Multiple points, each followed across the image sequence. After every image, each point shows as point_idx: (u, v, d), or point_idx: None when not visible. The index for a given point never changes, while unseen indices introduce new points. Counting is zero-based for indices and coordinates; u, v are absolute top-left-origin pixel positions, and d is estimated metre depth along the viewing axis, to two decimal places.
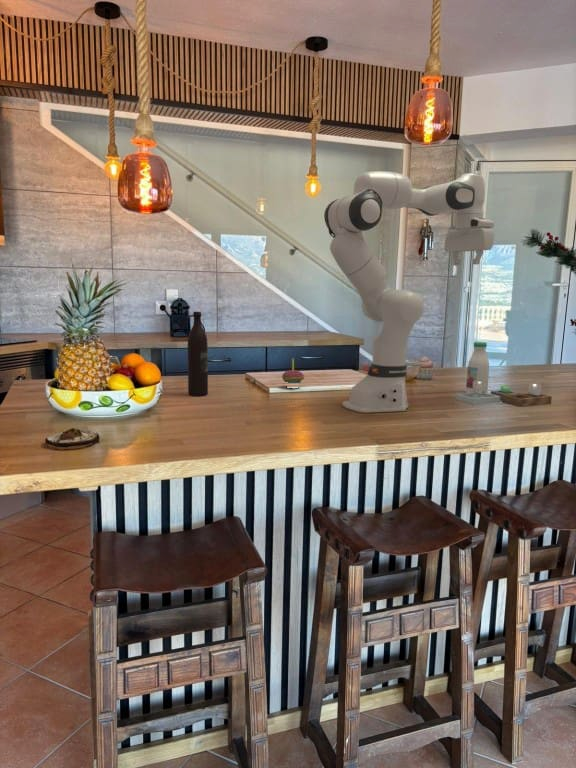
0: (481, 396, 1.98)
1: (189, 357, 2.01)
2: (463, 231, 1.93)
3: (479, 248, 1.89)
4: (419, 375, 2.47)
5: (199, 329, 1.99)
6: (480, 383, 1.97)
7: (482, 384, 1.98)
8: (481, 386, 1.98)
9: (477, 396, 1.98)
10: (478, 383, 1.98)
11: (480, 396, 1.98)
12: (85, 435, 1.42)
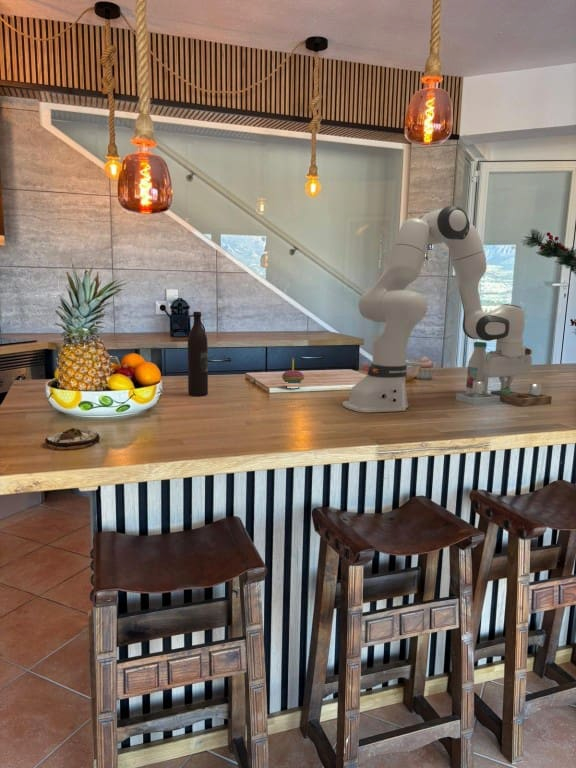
0: (481, 396, 1.98)
1: (189, 357, 2.01)
2: (516, 358, 2.00)
3: (525, 373, 2.05)
4: (419, 375, 2.47)
5: (199, 329, 1.99)
6: (480, 383, 1.97)
7: (482, 384, 1.98)
8: (481, 386, 1.98)
9: (477, 396, 1.98)
10: (478, 383, 1.98)
11: (480, 396, 1.98)
12: (85, 435, 1.42)
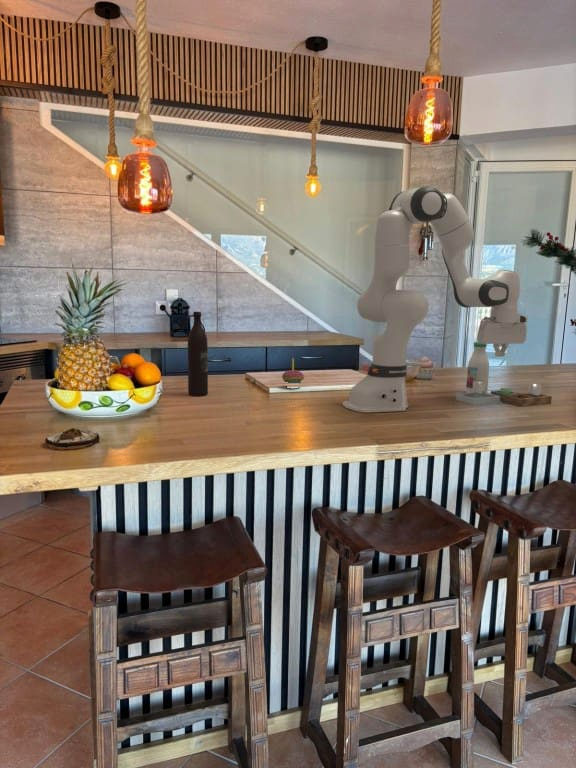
0: (481, 396, 1.98)
1: (189, 357, 2.01)
2: (511, 325, 1.97)
3: (520, 342, 2.01)
4: (419, 375, 2.47)
5: (199, 329, 1.99)
6: (480, 383, 1.97)
7: (482, 384, 1.98)
8: (481, 386, 1.98)
9: (477, 396, 1.98)
10: (478, 383, 1.98)
11: (480, 396, 1.98)
12: (85, 435, 1.42)
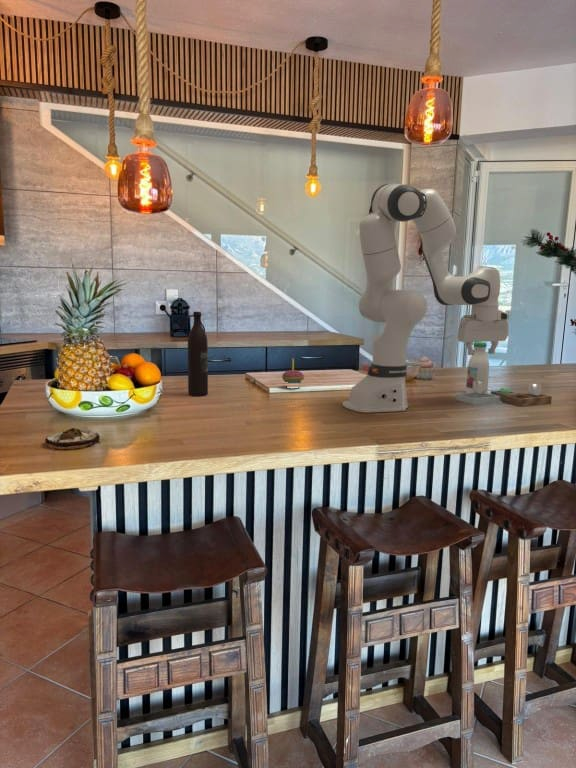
0: (481, 396, 1.98)
1: (189, 357, 2.01)
2: (491, 323, 1.93)
3: (501, 339, 1.98)
4: (419, 375, 2.47)
5: (199, 329, 1.99)
6: (480, 383, 1.97)
7: (482, 384, 1.98)
8: (481, 386, 1.98)
9: (477, 396, 1.98)
10: (478, 383, 1.98)
11: (480, 396, 1.98)
12: (85, 435, 1.42)
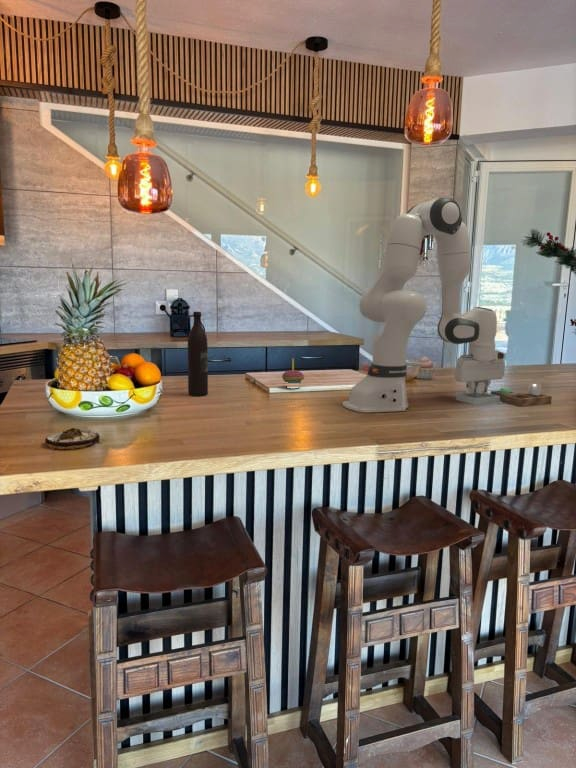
0: (481, 396, 1.98)
1: (189, 357, 2.01)
2: (488, 362, 1.96)
3: (498, 378, 2.01)
4: (419, 375, 2.47)
5: (198, 329, 1.99)
6: (480, 383, 1.97)
7: (482, 384, 1.98)
8: (481, 386, 1.98)
9: (477, 396, 1.98)
10: (478, 383, 1.98)
11: (480, 396, 1.98)
12: (85, 435, 1.42)
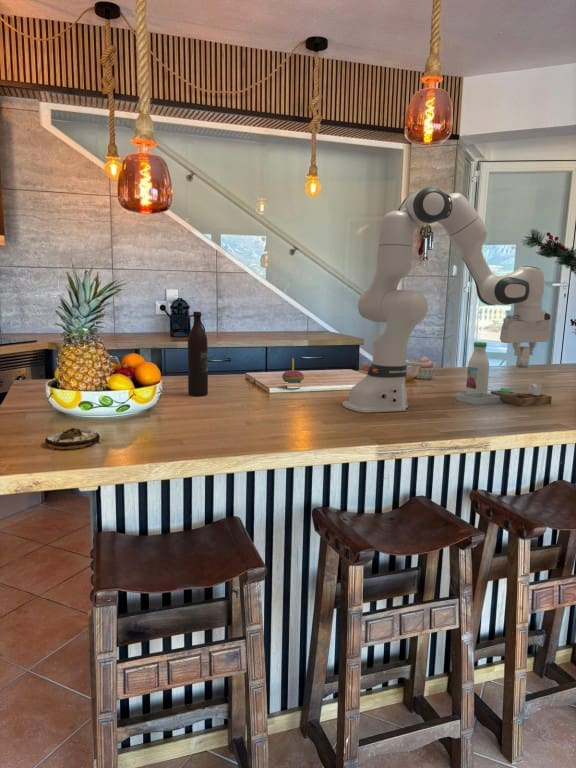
0: (526, 362, 1.93)
1: (189, 357, 2.01)
2: (535, 324, 1.90)
3: (544, 340, 1.95)
4: (419, 375, 2.47)
5: (199, 329, 1.99)
6: (525, 348, 1.92)
7: (528, 350, 1.92)
8: (526, 351, 1.92)
9: (522, 362, 1.93)
10: (523, 349, 1.92)
11: (525, 362, 1.93)
12: (85, 435, 1.42)
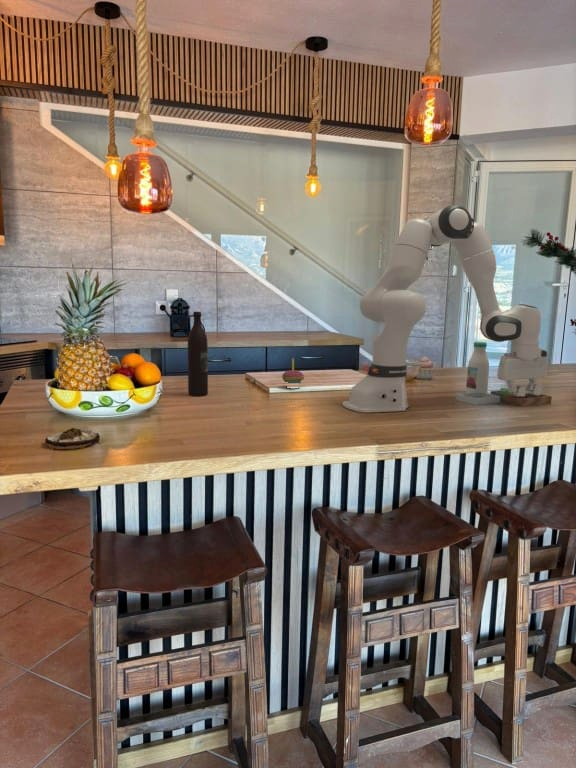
0: None
1: (189, 357, 2.01)
2: (532, 361, 1.92)
3: (541, 376, 1.97)
4: (419, 375, 2.47)
5: (199, 329, 1.99)
6: (522, 387, 1.94)
7: (524, 388, 1.94)
8: (522, 390, 1.94)
9: None
10: (519, 387, 1.94)
11: None
12: (85, 435, 1.42)
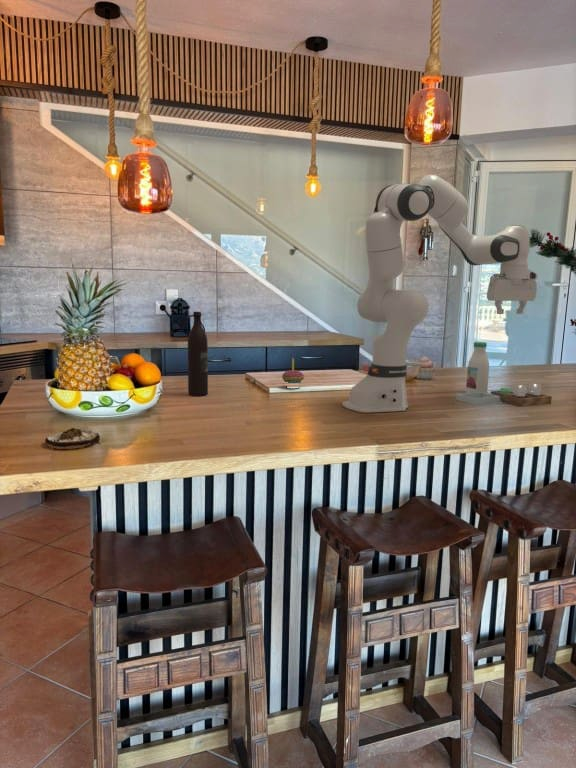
0: None
1: (189, 357, 2.01)
2: (521, 282, 1.95)
3: (530, 299, 2.00)
4: (419, 375, 2.47)
5: (199, 329, 1.99)
6: (522, 387, 1.94)
7: (524, 388, 1.94)
8: (522, 390, 1.94)
9: None
10: (519, 387, 1.94)
11: None
12: (85, 435, 1.42)
